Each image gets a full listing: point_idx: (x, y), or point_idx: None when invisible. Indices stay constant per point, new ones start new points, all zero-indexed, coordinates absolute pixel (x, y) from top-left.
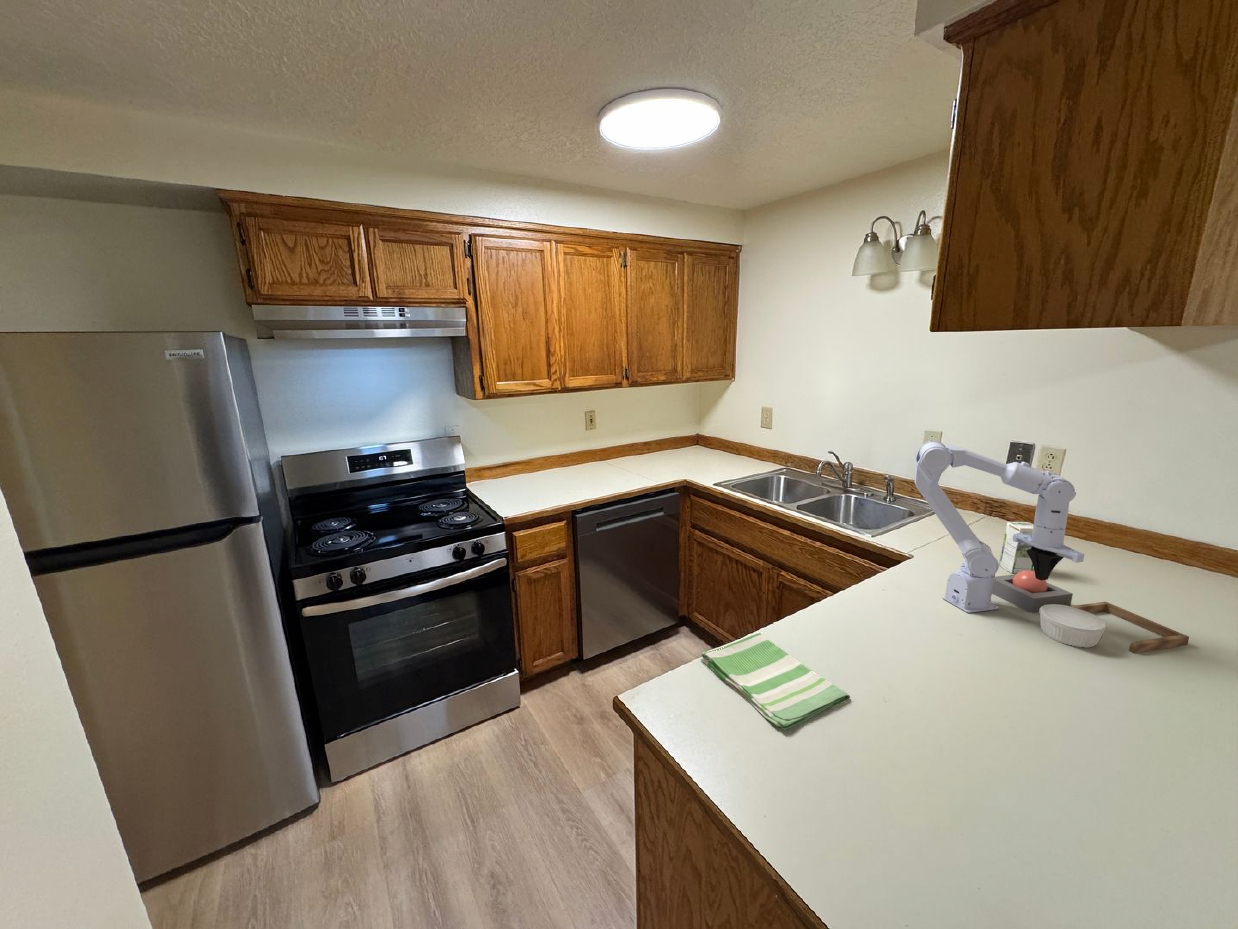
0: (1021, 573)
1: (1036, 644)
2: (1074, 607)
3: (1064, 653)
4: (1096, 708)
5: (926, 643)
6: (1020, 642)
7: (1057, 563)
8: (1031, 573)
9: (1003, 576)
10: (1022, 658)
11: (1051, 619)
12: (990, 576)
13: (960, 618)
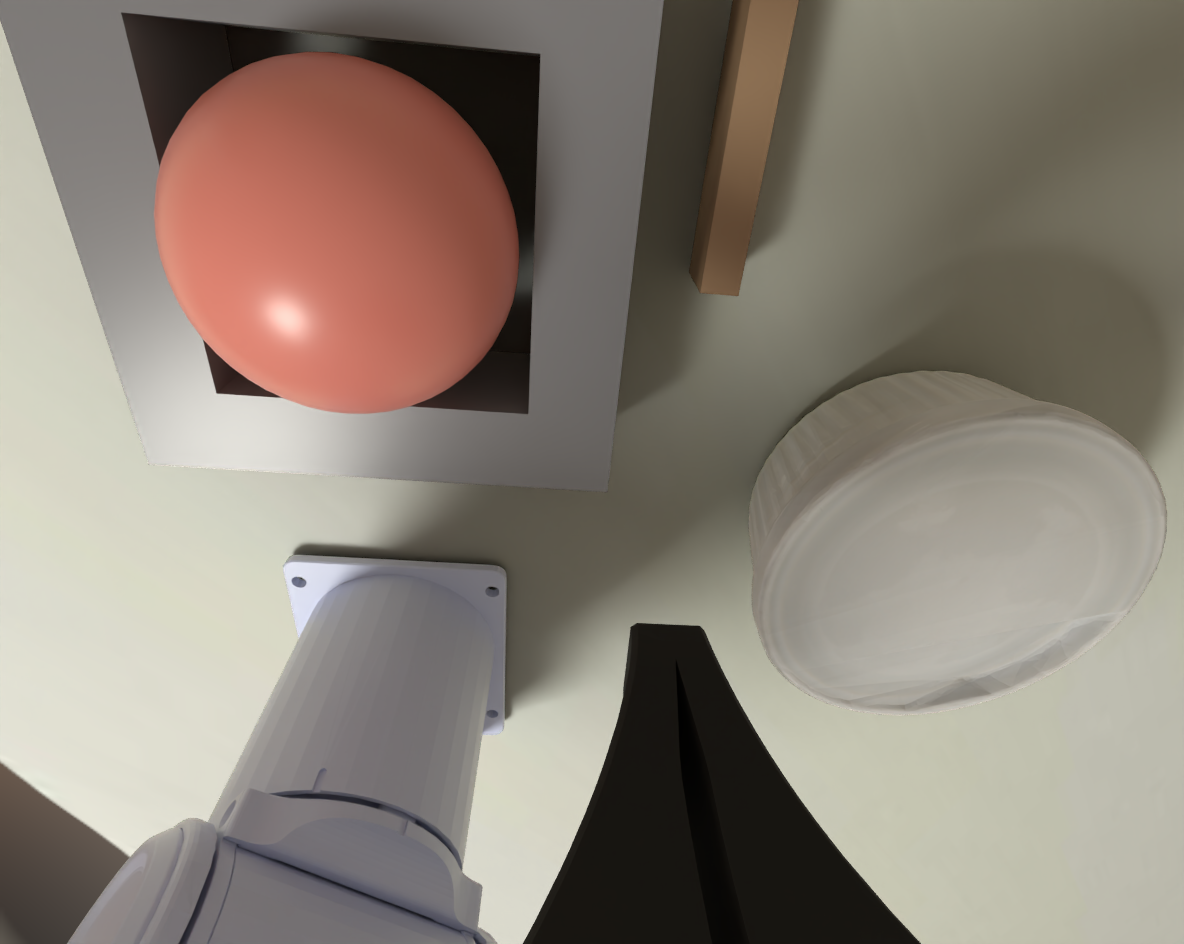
0: (264, 379)
1: None
2: (764, 104)
3: None
4: (1121, 820)
5: None
6: (785, 723)
7: (845, 861)
8: (332, 346)
9: (114, 307)
10: (855, 794)
11: (883, 713)
12: (475, 910)
13: (534, 772)
